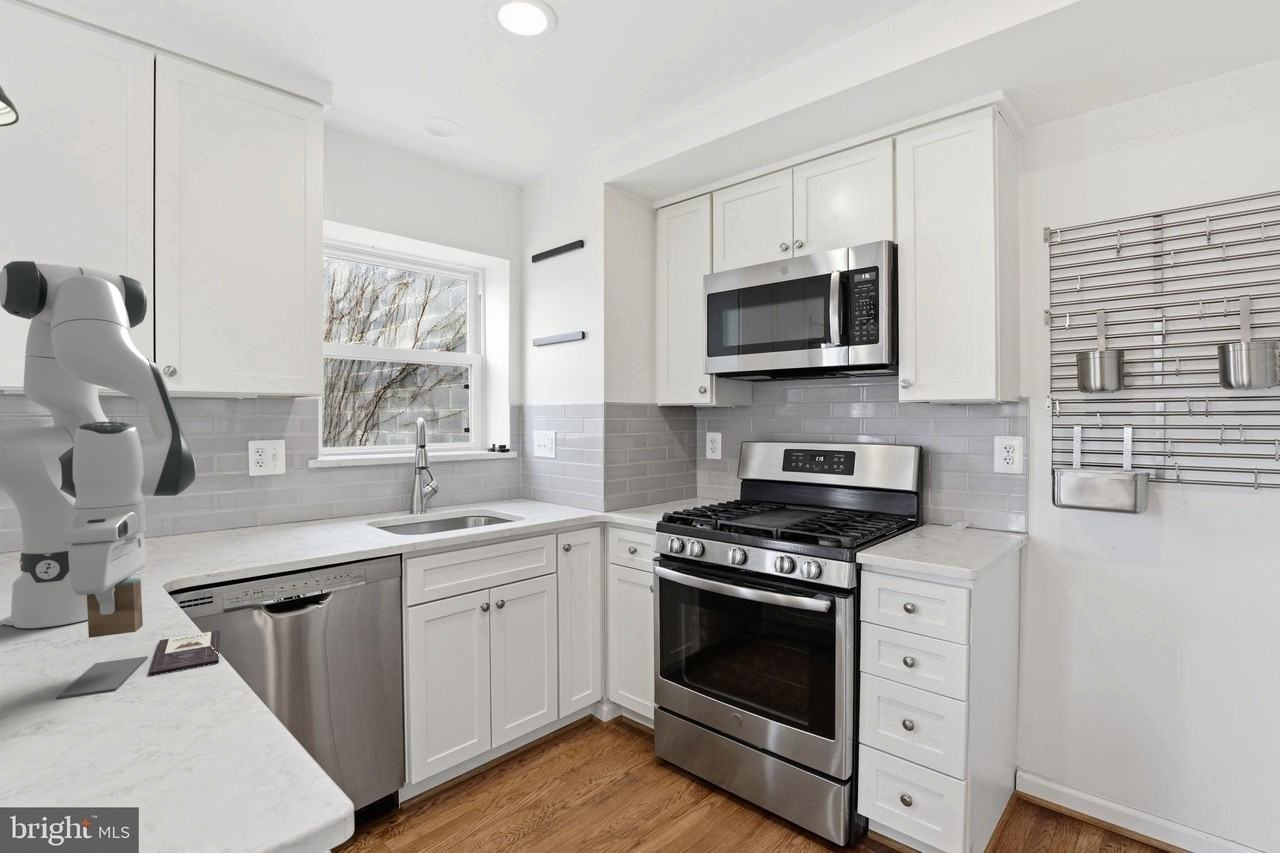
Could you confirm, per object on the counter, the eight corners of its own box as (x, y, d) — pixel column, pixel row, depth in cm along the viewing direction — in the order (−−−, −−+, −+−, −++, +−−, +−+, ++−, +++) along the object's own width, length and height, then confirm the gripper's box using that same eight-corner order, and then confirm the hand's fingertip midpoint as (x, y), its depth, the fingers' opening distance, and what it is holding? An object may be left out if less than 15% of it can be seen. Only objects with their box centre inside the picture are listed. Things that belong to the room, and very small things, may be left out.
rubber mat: (95, 664, 106) (95, 662, 106) (147, 657, 108) (147, 656, 108) (56, 698, 93) (56, 696, 93) (116, 690, 95) (116, 688, 95)
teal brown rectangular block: (97, 631, 105) (95, 581, 105) (142, 625, 107) (140, 577, 107) (88, 637, 102) (86, 586, 101) (135, 631, 104) (133, 582, 104)
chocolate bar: (149, 672, 101) (159, 640, 116) (149, 678, 101) (160, 645, 116) (218, 659, 106) (219, 630, 121) (218, 665, 106) (220, 635, 121)
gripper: (111, 516, 112) (114, 595, 113) (57, 535, 94) (61, 630, 94) (155, 513, 115) (158, 591, 115) (111, 530, 96) (115, 624, 96)
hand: (114, 609), depth 104 cm, fingers closed on teal brown rectangular block, 3 cm apart
